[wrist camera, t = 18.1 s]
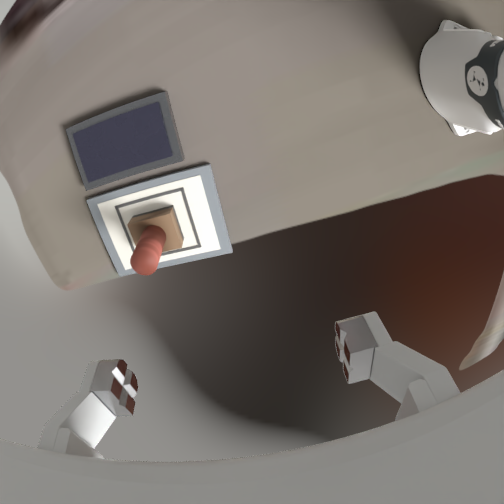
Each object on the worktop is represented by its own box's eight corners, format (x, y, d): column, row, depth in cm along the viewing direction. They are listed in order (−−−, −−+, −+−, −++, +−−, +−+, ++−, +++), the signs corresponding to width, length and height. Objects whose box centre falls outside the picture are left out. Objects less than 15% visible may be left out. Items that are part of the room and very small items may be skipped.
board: (210, 163, 38) (209, 165, 37) (232, 249, 44) (232, 253, 44) (88, 198, 38) (85, 201, 37) (121, 273, 45) (119, 277, 44)
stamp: (173, 205, 39) (160, 238, 31) (184, 237, 42) (175, 276, 34) (132, 215, 39) (112, 250, 31) (144, 247, 42) (129, 285, 34)
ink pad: (167, 91, 32) (164, 91, 31) (184, 158, 37) (182, 161, 35) (71, 127, 33) (64, 129, 31) (90, 186, 37) (85, 191, 36)
